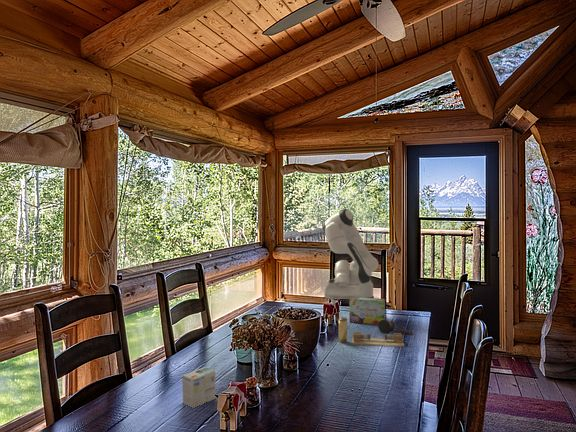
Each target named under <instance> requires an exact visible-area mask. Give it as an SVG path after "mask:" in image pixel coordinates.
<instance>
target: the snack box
mask: <svg viewBox="0 0 576 432" xmlns="http://www.w3.org/2000/svg"><path fill="white" fill-rule="evenodd" d="M351 300H352V299H348V301H349V309H348V310H349V321H348V322H349V323H354V322H357V323H356V324H366V323H367V325H378V324H379V322H380V321H381V320H386V310H385V309H386V299H385V298H375V297H374V298H359V299H354V301H353V303H352V305H350V301H351Z"/></svg>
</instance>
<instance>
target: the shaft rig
mask: <svg viewBox="0 0 576 432" xmlns="http://www.w3.org/2000/svg"><path fill="white" fill-rule="evenodd" d="M352 333H353V336H352V338H351V340H352V342H351V343H352V345H353V346H373V347H374V346H377V347H378V346H379V347H405V343H404V341H403V338H404V337H403V334H402V333H401V332H393V334H387V333H384V338H381V337H378V338H377V337H376V338H375V337H371V333H364V334H363V333H362V332H361V331H352Z"/></svg>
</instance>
